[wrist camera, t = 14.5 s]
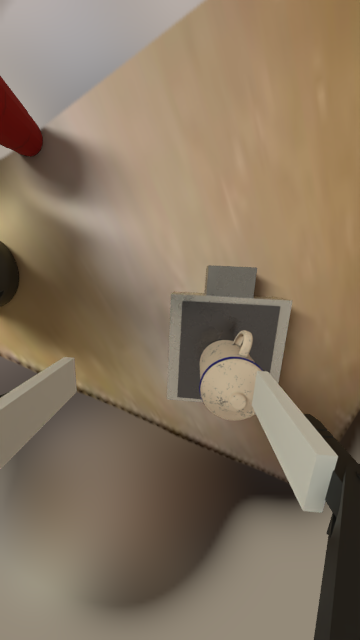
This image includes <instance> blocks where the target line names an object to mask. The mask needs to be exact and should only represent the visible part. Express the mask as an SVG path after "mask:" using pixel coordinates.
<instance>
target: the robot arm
mask: <svg viewBox="0 0 360 640" xmlns="http://www.w3.org/2000/svg"><path fill="white" fill-rule="evenodd" d="M18 282H19V275H18V268H17V265H16V262H15V260H14V258H13V256H12V254H11V253H10V251H9V250H8V249H7V248H6V246H5V245H4V244H2V243H1V242H0V306H2V305H4V304H6V303H7V302H9V301H10V300H11V299H12V297H13V296H14V294H15V293H16V290H17V287H18ZM76 392H77V389H76V374H75V359H74V358H71V357H63V358H62V359H60V360H59V361H57V362H56V363H54V364H52V365H51V366H49V367H48V368H46V369H45V370H43V371H42V372H40V373H38V374H37V375H35V376H34V377H32V378H31V379H29V380H27V381H26V382H24V383H23V384H21V385H20V386H18V387H17V388H15V389H14V390H12V391H10V392H8V393H5V394H3V395H1V396H0V469H1V468H2V467H3V466H4V465H5V464H6V463H7V462H8V461H9V460H10V459H11V458H12V457H13V456H14V455H15V454H16V453H17V452H18V451H19V450H20V449H21V448H22V447H23V445H25V444H26V443H27V442H28V441H29V440H30V439H31V438H32V437H33V436H34V435H35V434H36V433H37V432H38V431H39V429H40V428H42V426H44V424H45V423H46V422H47V421H48V420H49V419H50V418H51V417H52V416H53V415H54V414H55V413H56V412H57V411H58V410H59V409H60V408H61V407H62V406H63V405H64V404H65V403H66V402H67V401H68V400H69V399H70V398H71V397H72V396H73V395H74V394H75V393H76ZM252 407H253V409H254V411H255V413H256V415H257V417H258V419H259V421H260V423H261V426H262V428H263V430H264V432H265V434H266V436H267V438H268V440H269V442H270V444H271V446H272V448H273V450H274V452H275V454H276V456H277V458H278V461H279V463H280V465H281V467H282V469H283V471H284V473H285V475H286V477H287V479H288V481H289V483H290V485H291V487H292V489H293V491H294V494H295V496H296V498H297V500H298V502H299V504H300V505H301V508H302V510H303V511H309V512H320V513H322V512H323V508H324V505H325V502H327V504H328V505H329V507H330V509H331V510H332V512H333V514H332V517H331V520H330V524H329V527H328V530H327V534H328V535H329V536H328V544H327V550H326V558H325V565H324V571H323V578H322V585H321V594H320V600H319V607H318V614H317V621H316V628H315V635H314V640H360V464H358V463H357V462H356V461H355V460H354V459H353V458H352V457H351V455H350V454H349V453H348V452H347V451H346V450H345V449H344V448H343V447H342V445H341V444H340V443H339V442H338V441H337V440H336V439H335V438H334V437H333V435H332V434H331V433H330V432H329V431H327V429H326V428H325V427H324V426H323V424H322V423H321V422H320V421H318V420H317V419H316V418H314V417H313V416H311V415H310V414H303V413H302V412H301V411H300V410H299V408H298V407H297V406H296V405H295V404H294V402H293V401H292V400H291V399H290V398H289V396H288V395H287V394H286V393H285V392H284V390H283V389H282V388H281V387H280V386H279V384H278V383H277V382H276V381H275V379H274V378H273V377H272V376H271V375H270V373H269V372H267V371H257V374H256V380H255V387H254V393H253V400H252Z"/></svg>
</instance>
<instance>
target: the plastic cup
mask: <svg viewBox="0 0 360 640" xmlns="http://www.w3.org/2000/svg"><path fill="white" fill-rule="evenodd" d="M42 144H43V137H42V134H41V131H40V129H39V127H38V126H37V124H36V123H35V121H34V120H33V119H32V118H31V116H30V115H29V114H28V112H27V110H26V109H25V108H24V106H23V105H22V104H21V102H20V101H19V100H18V98H17V97H16V96H15V95H14V93H13V92H12V91H11V89H10V88H9V87H8V86H7V84H6V83H5V81H4V80H3V79H2V78H1V76H0V145H2V146H4V147H6V148H10V149H12V150H14V151H15V152H17V153H19V154H21V155H25V156H30V157H31V156H34V155H36V154H37V153H38V152H39V151H40V150H41V147H42Z"/></svg>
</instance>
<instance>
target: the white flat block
mask: <svg viewBox="0 0 360 640" xmlns="http://www.w3.org/2000/svg"><path fill="white" fill-rule="evenodd" d="M256 273H257V268H251V267H230V266H207V269H206V282H205V293H188V292H173V293H172V294H171V308H170V333H169V358H168V382H167V399H170V400H182V401H193V402H203V401H202V399H201V396H200V391H199V385H200V357H201V355H202V353H203V351H204V350H205V348H206V347H207V346H209V345H210V344H212V343H213V342H216V341H220V340H230V341H234V340H235V338H236V336H237V335H238V333H239V332H241V331H243V330H245V331H249V332H250V333H251V334H252V336H253V342H252V347H251V350H250V352H249V355H250V357H251V358H252V359H253V361H254V362H255V363H256V364H257V365H258V366H259V367H260V368H261V369H262V370H263V371H267V372H269V373H270V375H271V376H272V377H273V378H274V379H275V381H276V382H277V383H279V377H280V371H281V365H282V359H283V353H284V347H285V342H286V336H287V330H288V324H289V318H290V312H291V306H292V300H287V299H282V298H278V297H261V296H254V289H255V281H256ZM242 344H243V342H242ZM242 344H241V346H242Z"/></svg>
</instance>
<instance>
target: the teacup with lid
mask: <svg viewBox="0 0 360 640" xmlns="http://www.w3.org/2000/svg"><path fill="white" fill-rule="evenodd" d="M242 342H243V344H242ZM252 342H253V336H252V334H251V333H250V332H249V331H245V330H243V331H241V332H239V333H238V335H237V336H236V338H235V340H234V341H230V340H220V341H216V342H213V343H212V344H210V345H209V346H207V347H206V348H205V350H204V351H203V353H202V355H201V357H200V385H199V391H200V396H201V399H202V401H203V403H204V405H205V406H206V407H207V408H208V410H209V411H211V412H212V413H213V414H214V415H216V416H218V417H220V418H223V419H226V420H243V419H247V418H249V417H251V416H253V415H255V414H256V413H255V411H254V409H253V407H252V400H253V393H254V387H255V380H256V374H257V371H263V370H262V369H261V368H260V367H259V366H258V365H257V364H256V363H255V362H254V361H253V359H252V358H251V357H250V355H249V352H250V350H251V347H252ZM241 344H242V346H241Z"/></svg>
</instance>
